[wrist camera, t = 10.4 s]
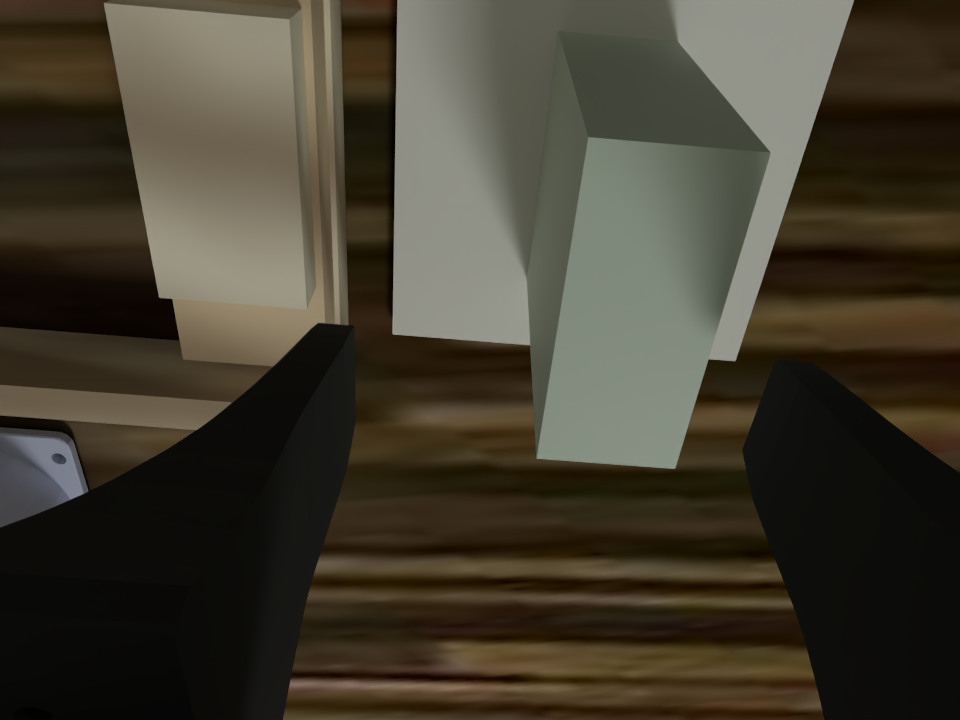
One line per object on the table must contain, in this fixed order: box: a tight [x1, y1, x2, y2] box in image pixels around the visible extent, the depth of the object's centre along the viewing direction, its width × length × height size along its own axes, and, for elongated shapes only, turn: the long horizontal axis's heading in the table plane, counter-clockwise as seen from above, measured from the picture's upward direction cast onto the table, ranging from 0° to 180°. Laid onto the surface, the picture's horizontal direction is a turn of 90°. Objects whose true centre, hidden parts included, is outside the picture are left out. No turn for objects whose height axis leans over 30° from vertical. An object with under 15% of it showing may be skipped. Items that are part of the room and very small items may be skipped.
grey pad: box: [393, 0, 854, 361], centre depth 21 cm, size 11×11×1 cm
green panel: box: [527, 31, 771, 469], centre depth 18 cm, size 7×3×8 cm, turn 175°
